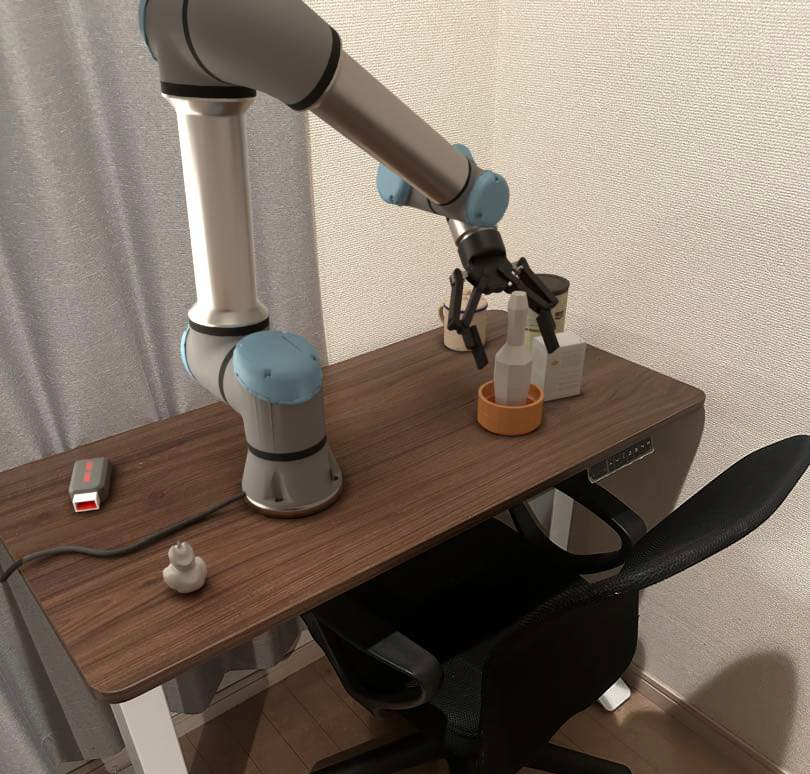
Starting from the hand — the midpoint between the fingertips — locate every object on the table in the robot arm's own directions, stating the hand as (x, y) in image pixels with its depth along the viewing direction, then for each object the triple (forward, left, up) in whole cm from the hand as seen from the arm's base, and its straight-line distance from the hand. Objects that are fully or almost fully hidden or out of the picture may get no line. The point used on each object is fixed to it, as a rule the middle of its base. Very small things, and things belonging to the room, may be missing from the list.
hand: (519, 358), depth 123 cm
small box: (+14, +5, -13) cm, 20 cm away
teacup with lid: (+15, +34, -13) cm, 39 cm away
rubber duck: (-63, -5, -13) cm, 64 cm away
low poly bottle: (0, +2, -12) cm, 12 cm away
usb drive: (-66, +25, -13) cm, 71 cm away
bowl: (0, +2, -12) cm, 13 cm away
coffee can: (+25, +21, -13) cm, 35 cm away
